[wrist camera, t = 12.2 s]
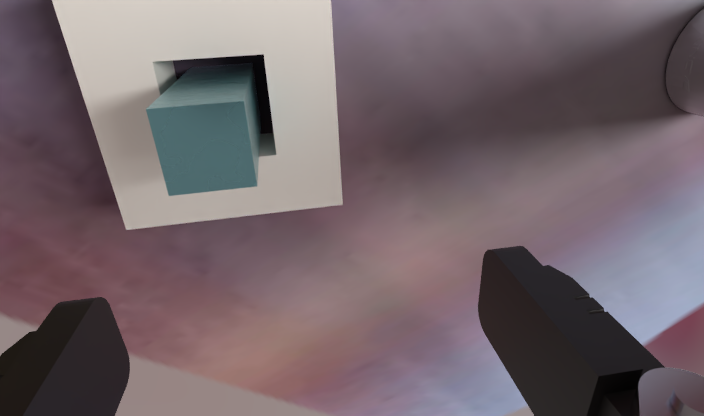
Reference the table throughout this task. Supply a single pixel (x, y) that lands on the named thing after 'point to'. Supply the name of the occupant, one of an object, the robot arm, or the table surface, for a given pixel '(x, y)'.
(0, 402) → the robot arm
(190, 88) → the bracket post
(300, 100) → the well block
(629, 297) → the table surface
